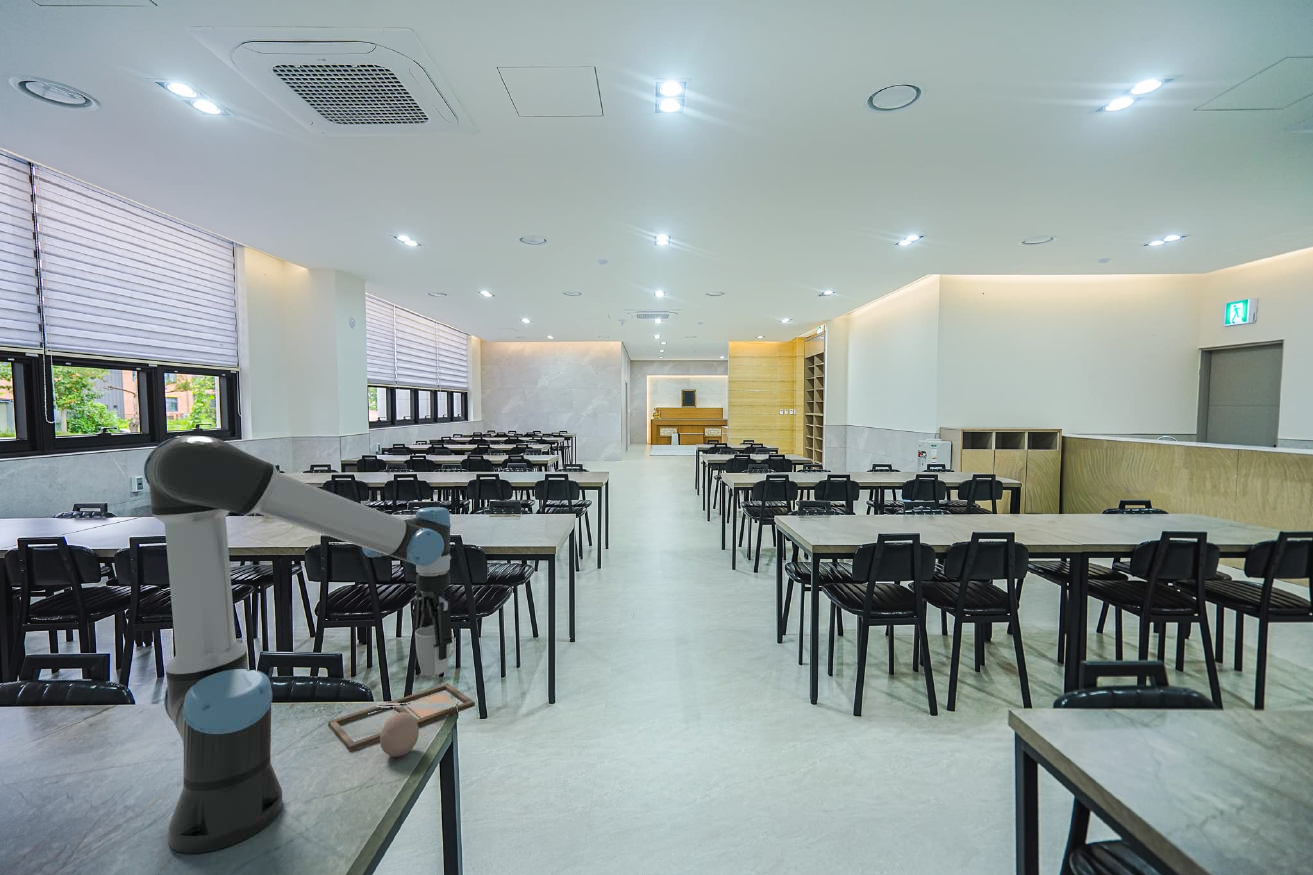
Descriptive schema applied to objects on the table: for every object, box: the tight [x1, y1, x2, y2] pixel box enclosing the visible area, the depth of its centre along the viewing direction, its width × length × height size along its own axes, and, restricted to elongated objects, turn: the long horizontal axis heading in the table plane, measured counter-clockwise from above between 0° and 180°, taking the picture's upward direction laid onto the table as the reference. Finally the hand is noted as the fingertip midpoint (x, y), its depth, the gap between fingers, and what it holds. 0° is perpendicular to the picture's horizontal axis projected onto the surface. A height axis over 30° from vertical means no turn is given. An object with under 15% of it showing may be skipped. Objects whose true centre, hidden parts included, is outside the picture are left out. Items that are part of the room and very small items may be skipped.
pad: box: [407, 692, 455, 719], centre depth 134 cm, size 9×9×1 cm
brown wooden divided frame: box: [327, 683, 476, 752], centre depth 130 cm, size 14×28×1 cm, turn 136°
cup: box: [414, 624, 451, 677], centre depth 134 cm, size 8×8×10 cm
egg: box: [379, 712, 420, 758], centre depth 114 cm, size 7×7×8 cm
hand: (433, 666), depth 134 cm, fingers closed on cup, 8 cm apart
